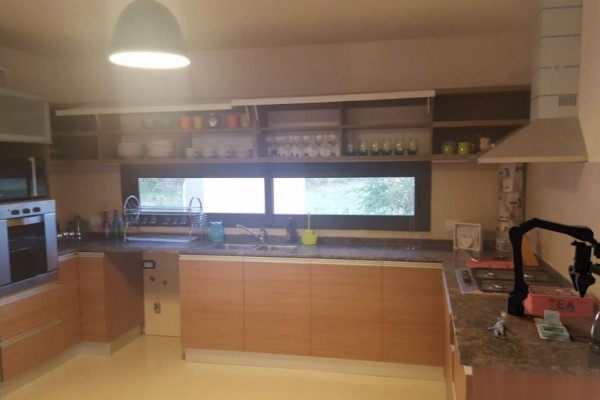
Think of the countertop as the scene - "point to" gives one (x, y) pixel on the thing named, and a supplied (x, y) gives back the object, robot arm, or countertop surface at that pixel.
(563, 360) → the countertop surface
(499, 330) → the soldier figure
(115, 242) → the countertop surface
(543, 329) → the chassis
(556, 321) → the engine block
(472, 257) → the countertop surface
